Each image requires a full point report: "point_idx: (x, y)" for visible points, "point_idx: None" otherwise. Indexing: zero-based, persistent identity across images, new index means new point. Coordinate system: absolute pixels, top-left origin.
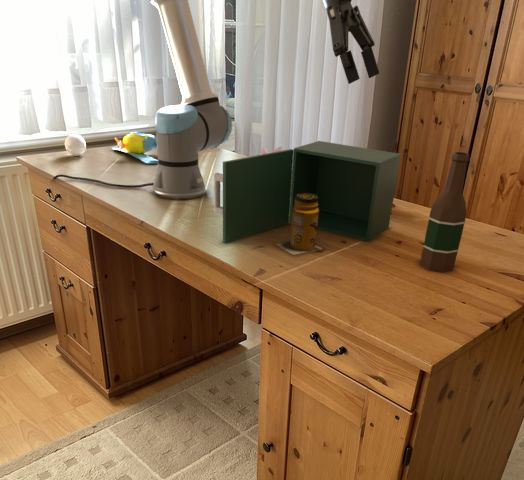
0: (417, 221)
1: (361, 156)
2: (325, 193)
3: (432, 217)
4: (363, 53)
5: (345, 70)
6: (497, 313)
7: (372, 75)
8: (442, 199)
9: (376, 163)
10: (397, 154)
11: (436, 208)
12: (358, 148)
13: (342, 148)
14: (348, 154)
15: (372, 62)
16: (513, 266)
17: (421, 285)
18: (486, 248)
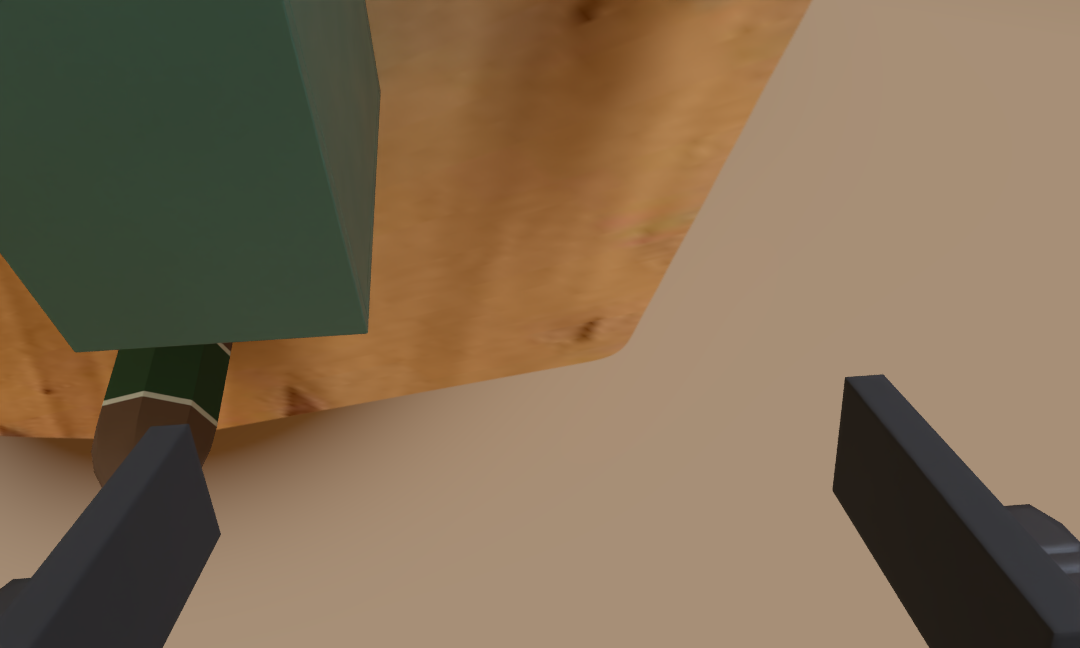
0: (552, 137)
1: (92, 255)
2: None
3: (99, 415)
4: (1017, 629)
5: (74, 541)
6: (74, 431)
7: (845, 430)
8: (100, 475)
9: (68, 337)
10: (337, 331)
11: (94, 445)
12: (275, 154)
13: (158, 85)
14: (47, 193)
15: (900, 567)
16: (360, 395)
17: (27, 321)
18: (439, 337)
